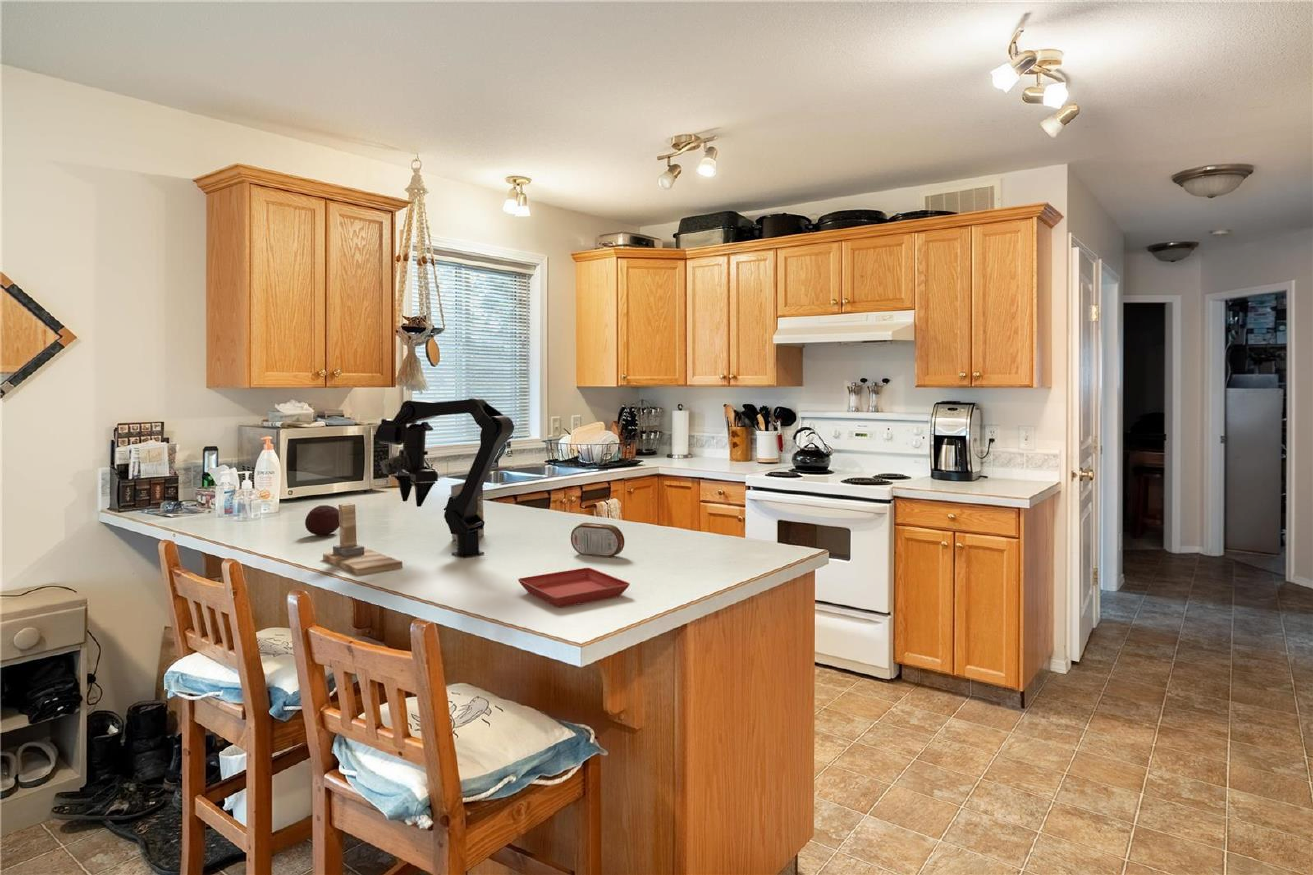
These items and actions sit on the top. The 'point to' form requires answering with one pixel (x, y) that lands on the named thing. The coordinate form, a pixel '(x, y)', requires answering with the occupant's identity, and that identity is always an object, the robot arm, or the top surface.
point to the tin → (597, 540)
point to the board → (364, 562)
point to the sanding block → (347, 532)
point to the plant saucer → (574, 586)
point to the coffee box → (457, 489)
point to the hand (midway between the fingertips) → (411, 503)
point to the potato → (322, 520)
